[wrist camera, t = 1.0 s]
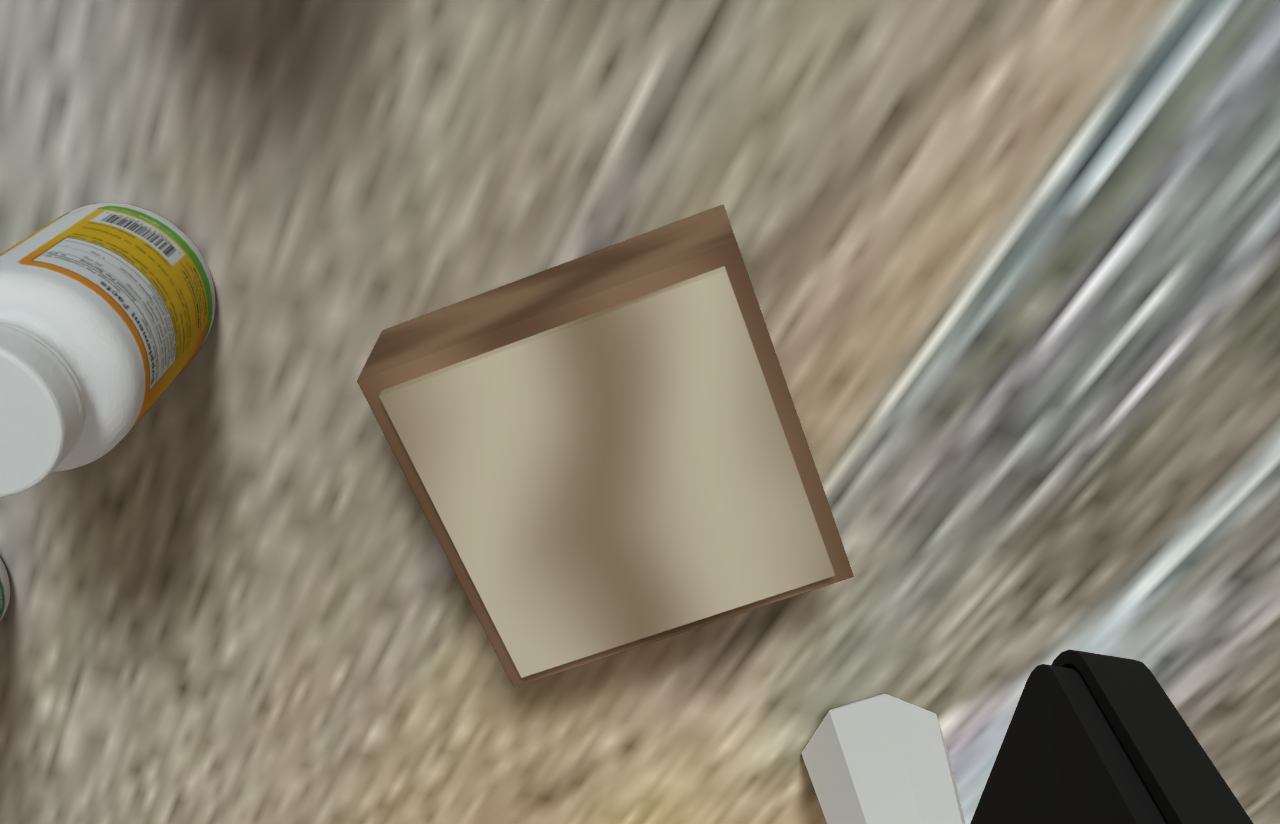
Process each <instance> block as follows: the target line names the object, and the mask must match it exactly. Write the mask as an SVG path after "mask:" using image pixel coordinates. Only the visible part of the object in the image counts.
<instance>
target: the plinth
mask: <svg viewBox="0 0 1280 824" xmlns="http://www.w3.org/2000/svg"><path fill="white" fill-rule="evenodd" d="M357 382H358V384H359V386H360V388H361V390H362V392H363V394H364V396H365V398H366V399H367V401H368V403H369V405H370V407H371V409H372V411H373V413H374V415H375V417H376V419H377V421H378V423H379V425H380V427H381V429H382V431H383V433H384V435H385V437H386V439H387V441H388V443H389V444H390V446H391V448H392V450H393V452H394V454H395V456H396V458H397V460H398V462H399V464H400V466H401V468H402V470H403V472H404V474H405V476H406V478H407V480H408V482H409V484H410V486H411V488H412V490H413V491H414V493H415V495H416V497H417V499H418V501H419V503H420V505H421V507H422V509H423V511H424V513H425V515H426V517H427V519H428V521H429V523H430V525H431V527H432V529H433V531H434V533H435V535H436V536H437V538H438V540H439V542H440V544H441V546H442V548H443V550H444V552H445V554H446V556H447V558H448V560H449V562H450V564H451V566H452V568H453V570H454V572H455V574H456V576H457V578H458V580H459V582H460V583H461V585H462V587H463V589H464V591H465V593H466V595H467V597H468V599H469V601H470V603H471V605H472V607H473V609H474V611H475V613H476V615H477V617H478V619H479V621H480V623H481V625H482V627H483V628H484V630H485V632H486V634H487V636H488V638H489V640H490V642H491V644H492V646H493V648H494V650H495V652H496V654H497V656H498V658H499V660H500V662H501V664H502V666H503V668H504V670H505V672H506V674H507V675H508V677H509V679H510V681H511V683H512V685H513V687H516V686H519V685H522V684H525V683H528V682H532V681H535V680H538V679H541V678H544V677H547V676H550V675H553V674H556V673H559V672H562V671H565V670H568V669H571V668H575V667H578V666H581V665H584V664H587V663H590V662H593V661H596V660H599V659H602V658H605V657H608V656H611V655H615V654H618V653H621V652H624V651H627V650H630V649H633V648H636V647H639V646H642V645H645V644H648V643H651V642H655V641H658V640H661V639H664V638H667V637H670V636H673V635H676V634H679V633H682V632H685V631H688V630H691V629H695V628H698V627H701V626H704V625H707V624H710V623H713V622H716V621H719V620H722V619H725V618H728V617H731V616H735V615H738V614H741V613H744V612H747V611H750V610H753V609H756V608H759V607H762V606H765V605H768V604H771V603H774V602H778V601H781V600H784V599H787V598H790V597H793V596H796V595H799V594H802V593H805V592H808V591H811V590H814V589H818V588H821V587H824V586H827V585H830V584H833V583H836V582H839V581H842V580H845V579H848V578H851V577H854V576H853V573H852V570H851V567H850V564H849V561H848V558H847V556H846V553H845V550H844V547H843V544H842V541H841V538H840V535H839V533H838V530H837V527H836V524H835V521H834V518H833V515H832V512H831V510H830V507H829V504H828V501H827V498H826V495H825V492H824V490H823V487H822V484H821V481H820V478H819V475H818V473H817V470H816V467H815V464H814V461H813V458H812V455H811V453H810V450H809V447H808V444H807V441H806V438H805V436H804V433H803V430H802V427H801V424H800V421H799V418H798V416H797V413H796V410H795V407H794V404H793V401H792V399H791V396H790V393H789V390H788V387H787V384H786V381H785V379H784V376H783V373H782V370H781V367H780V364H779V361H778V359H777V356H776V353H775V350H774V347H773V344H772V342H771V339H770V336H769V333H768V330H767V327H766V324H765V322H764V319H763V316H762V313H761V310H760V307H759V305H758V302H757V299H756V296H755V293H754V290H753V287H752V285H751V282H750V279H749V276H748V273H747V270H746V268H745V265H744V262H743V259H742V256H741V253H740V250H739V248H738V245H737V242H736V239H735V236H734V233H733V231H732V228H731V225H730V222H729V219H728V216H727V213H726V211H725V208H724V205H721V206H718V207H715V208H713V209H710V210H707V211H705V212H702V213H699V214H697V215H694V216H691V217H688V218H686V219H683V220H680V221H678V222H675V223H672V224H670V225H667V226H664V227H661V228H659V229H656V230H653V231H651V232H648V233H645V234H642V235H640V236H637V237H634V238H632V239H629V240H626V241H624V242H621V243H618V244H615V245H613V246H610V247H607V248H605V249H602V250H599V251H596V252H594V253H591V254H588V255H586V256H583V257H580V258H578V259H575V260H572V261H569V262H567V263H564V264H561V265H559V266H556V267H553V268H551V269H548V270H545V271H542V272H540V273H537V274H534V275H532V276H529V277H526V278H523V279H521V280H518V281H515V282H513V283H510V284H507V285H505V286H502V287H499V288H496V289H494V290H491V291H488V292H486V293H483V294H480V295H477V296H475V297H472V298H469V299H467V300H464V301H461V302H459V303H456V304H453V305H450V306H448V307H445V308H442V309H440V310H437V311H434V312H432V313H429V314H426V315H423V316H421V317H418V318H415V319H413V320H410V321H407V322H404V323H402V324H399V325H396V326H394V327H391V328H388V329H386V330H383V331H382V332H381V334H380V336H379V338H378V340H377V342H376V344H375V346H374V348H373V350H372V352H371V354H370V356H369V358H368V360H367V362H366V364H365V366H364V368H363V370H362V372H361V374H360V376H359V378H358V380H357Z"/></svg>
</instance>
